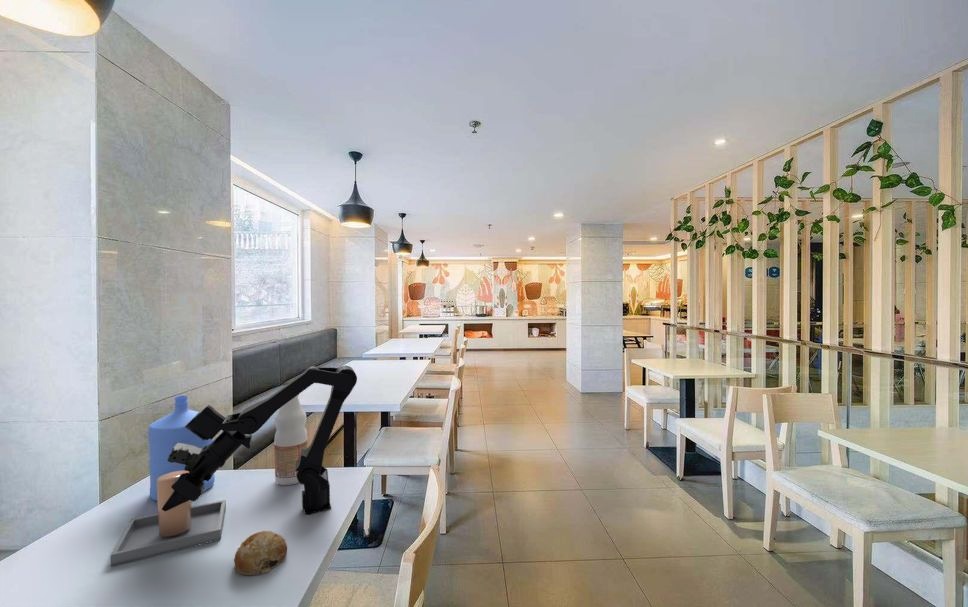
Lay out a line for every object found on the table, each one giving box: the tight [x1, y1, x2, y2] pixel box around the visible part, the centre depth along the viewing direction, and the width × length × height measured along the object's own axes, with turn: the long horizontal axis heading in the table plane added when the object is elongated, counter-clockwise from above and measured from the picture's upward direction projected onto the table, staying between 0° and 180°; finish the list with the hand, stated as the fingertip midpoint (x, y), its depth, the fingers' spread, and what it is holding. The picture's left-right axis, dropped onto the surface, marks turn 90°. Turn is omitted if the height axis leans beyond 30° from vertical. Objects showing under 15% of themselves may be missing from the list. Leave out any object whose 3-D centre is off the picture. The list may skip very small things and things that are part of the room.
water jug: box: [147, 395, 216, 502], centre depth 123 cm, size 16×16×28 cm
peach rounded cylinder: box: [157, 471, 192, 537], centre depth 100 cm, size 6×6×13 cm
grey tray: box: [110, 499, 227, 567], centre depth 101 cm, size 20×16×2 cm
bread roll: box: [233, 530, 288, 576], centre depth 90 cm, size 10×10×8 cm
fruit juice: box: [273, 394, 309, 486], centre depth 130 cm, size 9×9×28 cm
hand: (167, 503), depth 100 cm, fingers closed on peach rounded cylinder, 6 cm apart
